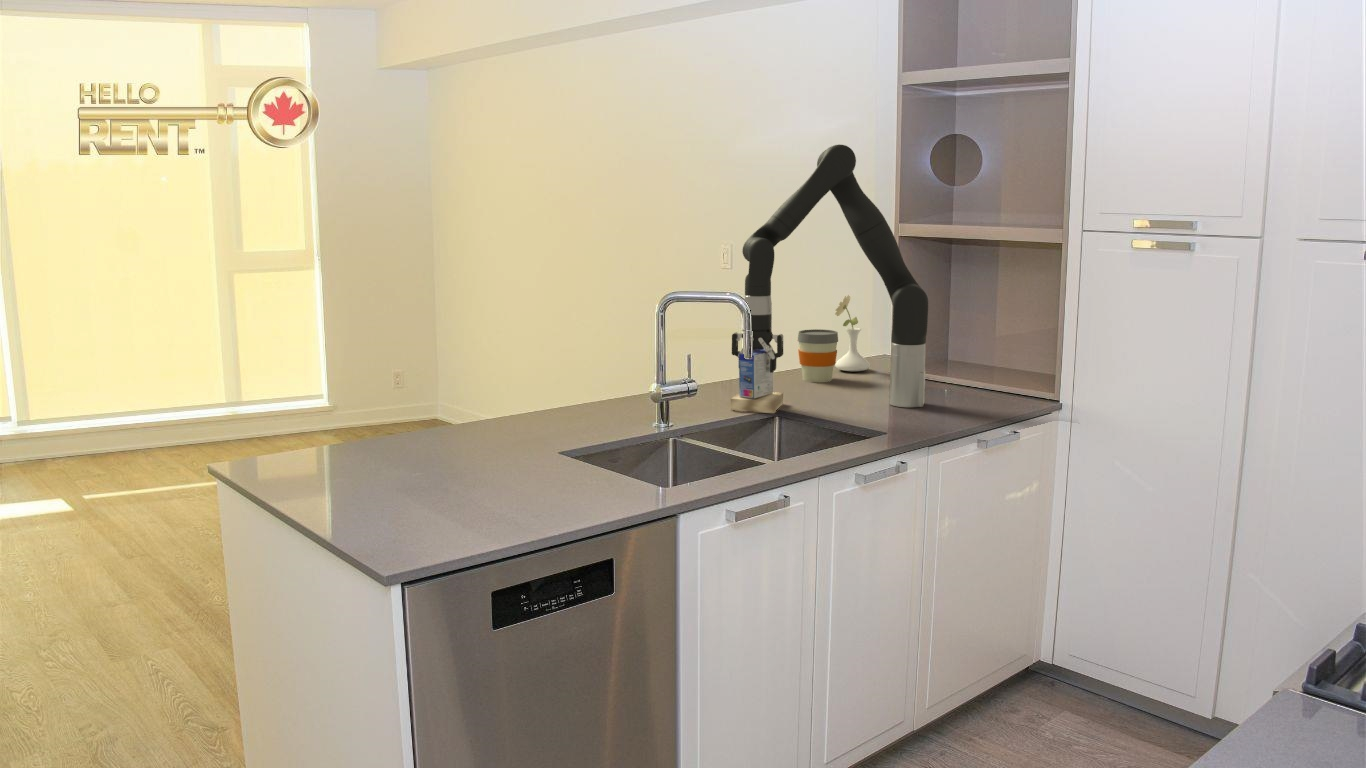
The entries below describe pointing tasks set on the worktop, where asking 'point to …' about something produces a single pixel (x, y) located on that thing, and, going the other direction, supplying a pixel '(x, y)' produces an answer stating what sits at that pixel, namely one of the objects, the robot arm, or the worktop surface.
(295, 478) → the worktop surface
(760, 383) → the ink cartridge box
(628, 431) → the worktop surface
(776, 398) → the birch block
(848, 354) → the flower in vase
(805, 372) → the reusable coffee cup
